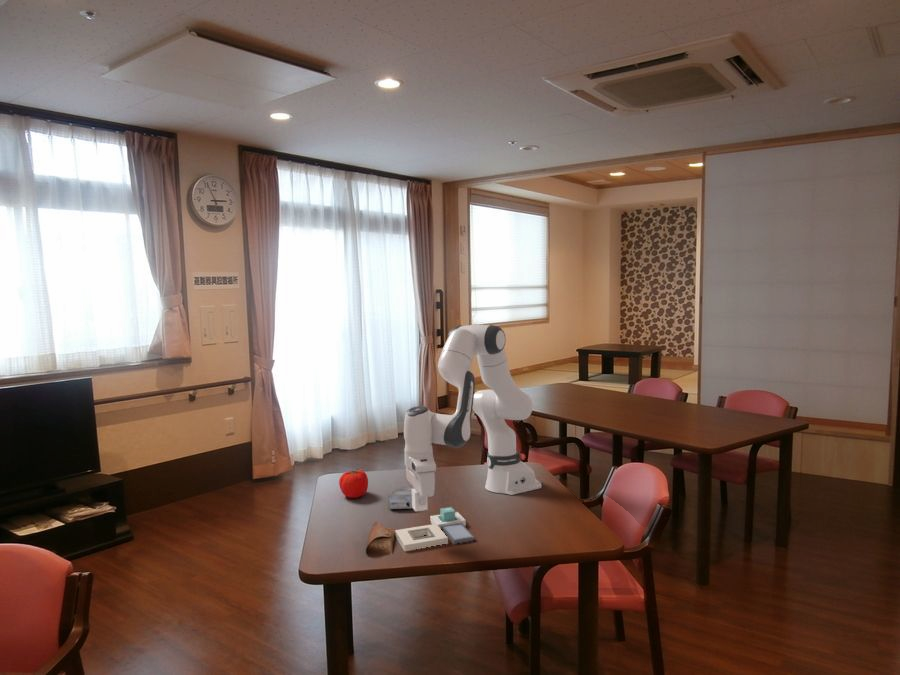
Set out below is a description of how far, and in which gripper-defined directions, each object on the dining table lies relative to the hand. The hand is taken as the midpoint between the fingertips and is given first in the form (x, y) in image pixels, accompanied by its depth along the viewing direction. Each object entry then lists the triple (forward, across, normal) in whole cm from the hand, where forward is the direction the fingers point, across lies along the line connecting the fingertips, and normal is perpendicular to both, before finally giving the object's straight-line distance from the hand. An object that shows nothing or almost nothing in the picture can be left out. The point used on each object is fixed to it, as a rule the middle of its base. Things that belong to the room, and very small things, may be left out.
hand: (419, 501), depth 186 cm
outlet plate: (+12, 0, 0) cm, 13 cm away
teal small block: (+12, -9, +12) cm, 20 cm away
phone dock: (+12, -3, +12) cm, 18 cm away
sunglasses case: (+13, -3, -12) cm, 18 cm away
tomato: (+13, -49, -13) cm, 52 cm away
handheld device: (+13, -36, +3) cm, 38 cm away
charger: (+2, 0, 0) cm, 2 cm away
